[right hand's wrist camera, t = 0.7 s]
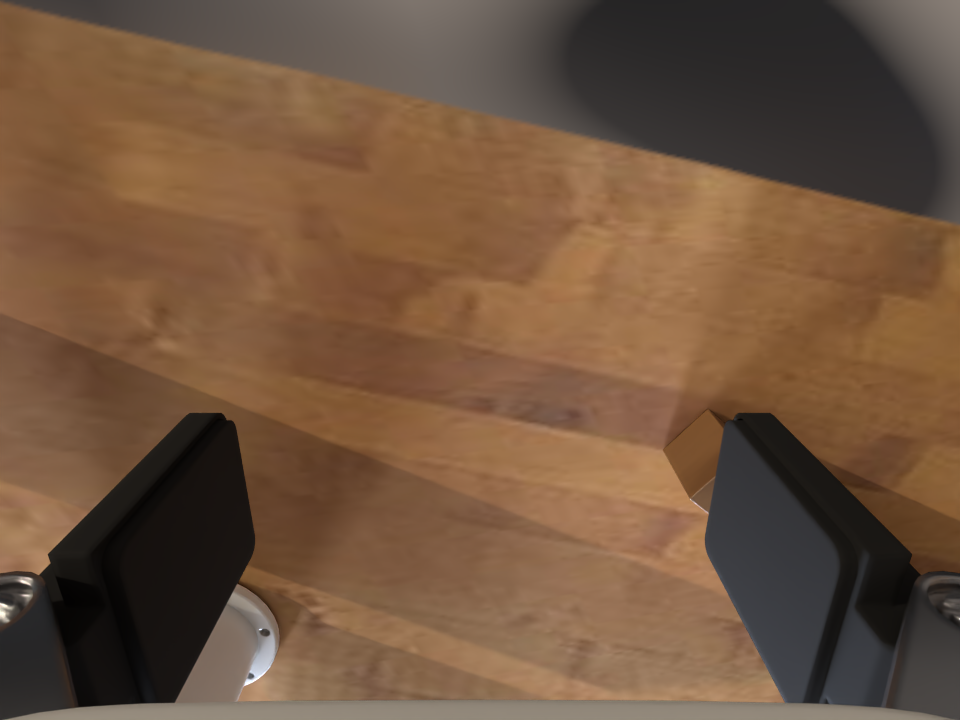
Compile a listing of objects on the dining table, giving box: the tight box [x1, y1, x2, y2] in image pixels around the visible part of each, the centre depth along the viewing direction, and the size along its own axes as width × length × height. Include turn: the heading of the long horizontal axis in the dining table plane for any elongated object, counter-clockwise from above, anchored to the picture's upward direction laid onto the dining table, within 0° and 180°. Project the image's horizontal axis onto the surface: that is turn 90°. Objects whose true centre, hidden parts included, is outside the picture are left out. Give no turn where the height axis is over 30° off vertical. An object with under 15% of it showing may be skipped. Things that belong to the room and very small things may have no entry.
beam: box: [663, 409, 725, 514], centre depth 48 cm, size 53×5×6 cm, turn 50°
